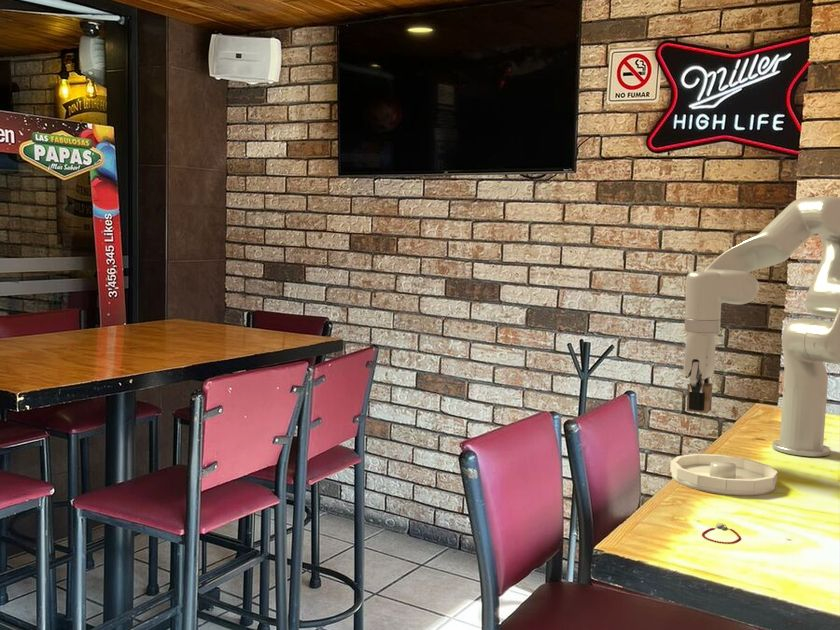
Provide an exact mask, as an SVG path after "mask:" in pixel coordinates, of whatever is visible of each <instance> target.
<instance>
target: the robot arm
mask: <svg viewBox="0 0 840 630" xmlns="http://www.w3.org/2000/svg"><path fill="white" fill-rule="evenodd" d="M814 235H818V237H819V240H820V243H821V247H822V248H821V249H822V256H821V260H820V263H819V266H818V268H817V270H816V272H815V274H814V278H813V279H812V281H811V283H810V286H809V289H807V290H808V291H807V294H806V297H805V301H804V302H805V303H804V304H805V307H806V310H807V311H808V312H809V313H811V314H812V315H815V316H818V317H822V318H827V319H833V321H829V320H824V319H815V318H806V317H803V318H796V319H794V320H791V321H790V322H789V323H787V324H786V326H785V327H784V329H783V331H782V334H781V335H782V336H781V347H782V353H783V361H784V362H783V363H784V366H783V367H784V371H783V373H784V374H783V387H782V391H783V392H782V403H781V416H780V417H781V418H780V431H779V432H780V433H779V439H777V440H775V441H772V448H773V450H775V451H778V452H780V453H781V452H782V453H784V454H788V455H793V456H802V457H813V458H815V457H817V458H819V457H826V456H829V455H830V454H831V449H830V447H829V446H827V445H825V444H824V441H825V440H824V438H825V427H826V426H825V425H826V414H827V413H826V412H827V411H826V410H827V401H828V400H827V398H828V397H827V395H828V388H829V387H828V386H829V377H828V372H827V368H826V366H825V364H824V363H829V364H834V365H840V196H830V195H829V196H828V195H827V196H809V197H808V196H807V197H806V196H805V197H799V198H798V199H797V198H796V200H794V201H791V203H789V204H788V206H786V207H785V208H784V209H783V210H782V211H781V212H780V213H779V214H778V215H777V216H776V217H775V218H774V219H772V221H770V222H769V223H768V225H766V226H765V227H764V228H763V229H762V230H761V231H760V232H759V233H757V234H756V235H754V236H752V237H749V238H748V239H746V240H743V241H742V242H741V243H739V244H737V245H735V246H733V247H731V248H729V249H728V250H726V251H724V252H723V253H721V254H720V255H718V256H717V257H716V258H715V259H714V260H713V261H712V262H711V263H710V264H708V266H707V267H706V268H704V270H703V271H702V270H701V271H700V270H698V271H696V270H695V271H691V272H689V273H688V274H687V275H686V281H685V284H686V285H685V301H684V302H685V307H684V329H683V331H684V334H686V335H687V336H686V340H685V346H684V347H685V348H684V357H683V372H682V376H683V378H685V379H688V378H689V383H690V392H689V409H690V410H697V411H703V410H704V399H705V393H703V389H704V383H711V376H713V375H714V374H715V366H716V336H719V335H720V334H721V316H722V315H721V314H722V304H731V305H745V304H748V303H750V302H752V301H753V300H754V299H756V297H757V295H758V294H759V289H760V285H759V281H758V279H757V278H756V277H755V275H753V274H752V273H750V272H753V271H756V270H757V271H758V270H760V269H765V268H768V267H773V266H775V265H779V264H781V263H783V262H785V261H787V260H788V259H789V258H790V257H791V256H792V255H793V254H794V253H795V252H796V251H797V250H799V248H801V246H802V245H803V244H804V243H806V242H807V241H808V240H809V239H810V238H811V237H812V236H814ZM699 382H701V383H699Z"/></svg>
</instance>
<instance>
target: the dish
mask: <svg viewBox="0 0 840 630" xmlns="http://www.w3.org/2000/svg"><path fill="white" fill-rule="evenodd" d="M669 466H670V467H669V468H670V469H669V472H671V478H672V479H673V480H674V481H675V482H677V483H678V484H680V485H683V486H685V487H687V488H691V489H694V490H698V491H702V492H706V493H710V494H716V495H717V494H719V495H726V496H727V495H729V496H739V495H740V496H743V497H744V496H751V497H753V496H760V495H761V496H762V495H765V494H766V495H767V494H770V493H773V491H775V489H776V484H777V482H778V473H779V472H778V471H777V470H776V469H774V468H772V467H771V466H770V465H768V464H767V463H763V462H759V461H757V460H753V459H749V458H745V457H738V456H732V455H725V454H714V453H713V454H712V453H710V454H709V453H708V454H707V453H692V454H685V455H683V454H682V455H677V456H676V457H674V458H673V459H672V460H670V465H669ZM740 496H739V497H740Z"/></svg>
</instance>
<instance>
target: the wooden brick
mask: <svg viewBox="0 0 840 630" xmlns="http://www.w3.org/2000/svg"><path fill="white" fill-rule="evenodd" d="M699 383H701V382H699ZM689 392H690V382H689V383H687V392H686V393H687V394H686V412H691V413H693V412H694V413H700V414H708V413H709V412H711V411H712V404H713V383H712V382H710V383H704V389H703V393H705V399H704V410H703V411H697V410H690V409H689Z"/></svg>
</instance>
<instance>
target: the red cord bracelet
mask: <svg viewBox="0 0 840 630" xmlns="http://www.w3.org/2000/svg"><path fill="white" fill-rule="evenodd" d="M716 529H721V530H722V531H726V530H729V531H730V532H732V533H734V534H735V535H736V536H737V537H738V538H737V539H736V540H733V541H727V542H726V541H721V540H720V541H719V540H714V539H712V538H709V537H707V536H706V534H707V533H709V532H710V531H713V530H716ZM701 537H702V538H704V539H705V540H706V541H710V542H712V543H716V544H717V543H718V544H725V545H732V544H736V543H738V542H740V541H741V540H742V537H741V535H740V534H739V533H738V532H737V531H735V530H734V529H733V528H728V527H727V525H726V524H724V523H720V522H717V523H716V527H710V528H708V529H706V530H704V531H703V532H702V534H701Z"/></svg>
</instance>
